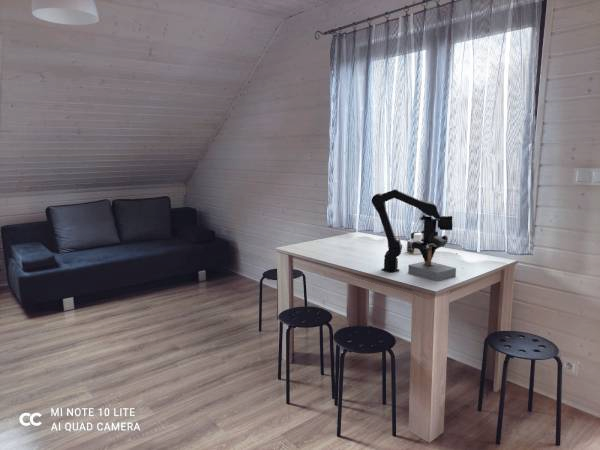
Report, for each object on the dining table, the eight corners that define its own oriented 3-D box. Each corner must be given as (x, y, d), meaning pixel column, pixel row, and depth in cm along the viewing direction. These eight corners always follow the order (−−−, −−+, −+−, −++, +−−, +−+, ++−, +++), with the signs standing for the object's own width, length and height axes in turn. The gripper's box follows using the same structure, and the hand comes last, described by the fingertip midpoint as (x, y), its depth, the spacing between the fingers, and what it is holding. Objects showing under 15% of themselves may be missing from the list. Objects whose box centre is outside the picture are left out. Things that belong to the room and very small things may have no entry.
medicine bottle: (406, 252, 263) (407, 232, 261) (416, 251, 265) (417, 231, 263) (413, 254, 256) (414, 234, 254) (424, 253, 259) (425, 233, 256)
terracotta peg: (428, 267, 216) (429, 247, 214) (423, 266, 218) (424, 246, 216) (432, 266, 217) (433, 246, 216) (427, 265, 220) (428, 245, 218)
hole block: (436, 281, 205) (437, 272, 205) (408, 272, 219) (408, 264, 218) (455, 276, 213) (456, 268, 213) (426, 268, 227) (427, 260, 226)
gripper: (430, 234, 203) (428, 267, 205) (456, 229, 213) (454, 261, 216) (411, 230, 212) (410, 262, 214) (436, 226, 222) (435, 256, 225)
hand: (427, 260), depth 217 cm, fingers closed on terracotta peg, 3 cm apart
